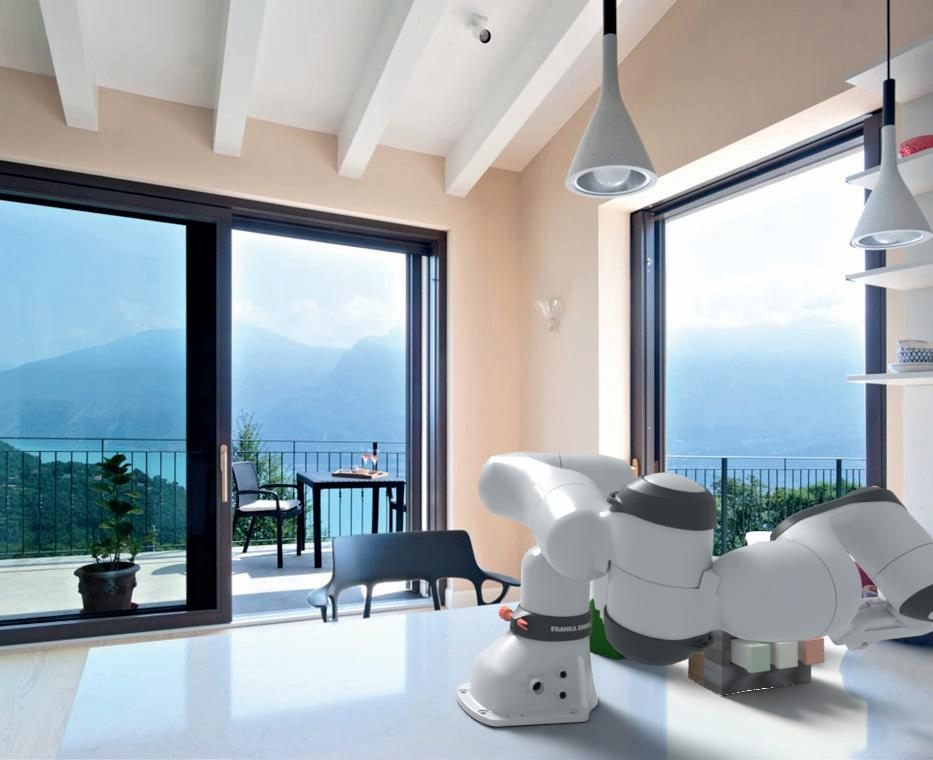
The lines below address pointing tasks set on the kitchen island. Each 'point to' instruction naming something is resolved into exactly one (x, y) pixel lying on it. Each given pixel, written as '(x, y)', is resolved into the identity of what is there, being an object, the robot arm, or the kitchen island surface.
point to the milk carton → (600, 619)
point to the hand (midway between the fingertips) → (852, 645)
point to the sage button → (750, 655)
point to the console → (738, 670)
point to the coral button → (811, 651)
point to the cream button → (783, 654)
